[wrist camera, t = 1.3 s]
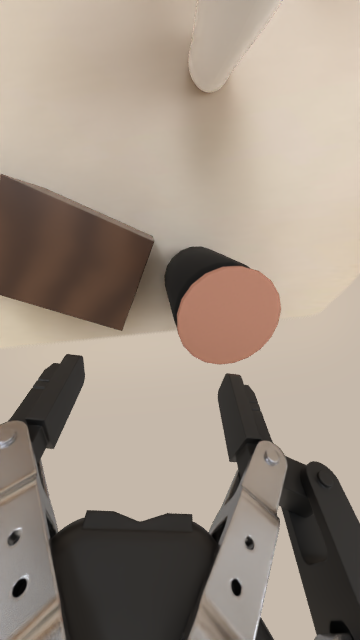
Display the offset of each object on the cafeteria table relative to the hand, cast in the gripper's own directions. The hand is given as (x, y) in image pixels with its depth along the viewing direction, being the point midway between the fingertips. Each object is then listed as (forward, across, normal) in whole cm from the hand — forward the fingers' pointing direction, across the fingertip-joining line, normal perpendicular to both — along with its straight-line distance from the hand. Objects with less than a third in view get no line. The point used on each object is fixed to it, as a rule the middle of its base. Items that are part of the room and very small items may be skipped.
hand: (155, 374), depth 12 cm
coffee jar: (+27, -5, +4) cm, 28 cm away
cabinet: (+25, +12, +3) cm, 28 cm away
